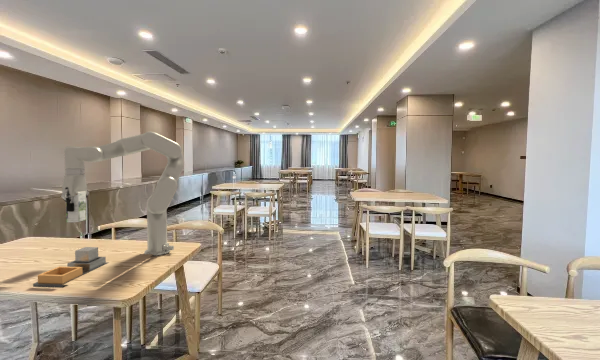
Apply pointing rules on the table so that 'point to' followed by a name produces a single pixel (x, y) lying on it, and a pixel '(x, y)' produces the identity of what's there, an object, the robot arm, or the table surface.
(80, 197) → the syrup box
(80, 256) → the block
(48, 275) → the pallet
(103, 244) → the table surface
